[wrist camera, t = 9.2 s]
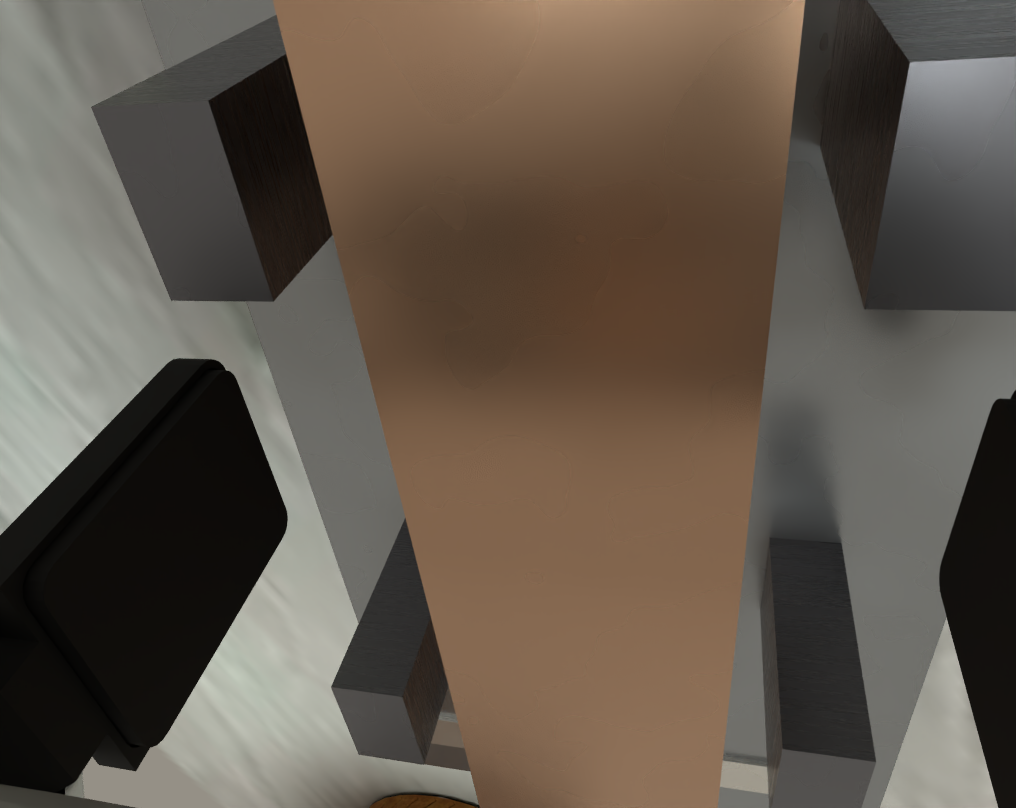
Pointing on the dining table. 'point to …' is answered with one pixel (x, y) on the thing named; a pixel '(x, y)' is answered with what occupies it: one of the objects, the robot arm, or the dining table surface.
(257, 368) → the dining table surface
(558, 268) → the wooden beam
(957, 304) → the plate
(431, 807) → the disposable coffee cup
